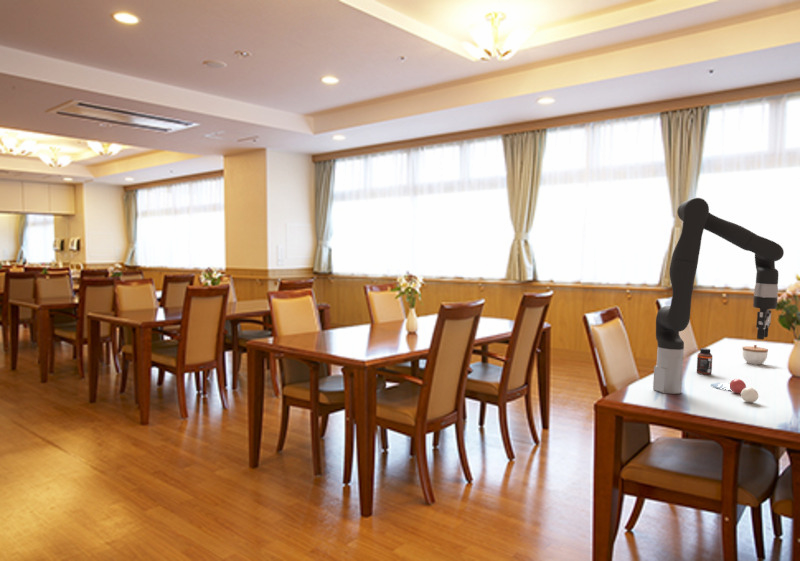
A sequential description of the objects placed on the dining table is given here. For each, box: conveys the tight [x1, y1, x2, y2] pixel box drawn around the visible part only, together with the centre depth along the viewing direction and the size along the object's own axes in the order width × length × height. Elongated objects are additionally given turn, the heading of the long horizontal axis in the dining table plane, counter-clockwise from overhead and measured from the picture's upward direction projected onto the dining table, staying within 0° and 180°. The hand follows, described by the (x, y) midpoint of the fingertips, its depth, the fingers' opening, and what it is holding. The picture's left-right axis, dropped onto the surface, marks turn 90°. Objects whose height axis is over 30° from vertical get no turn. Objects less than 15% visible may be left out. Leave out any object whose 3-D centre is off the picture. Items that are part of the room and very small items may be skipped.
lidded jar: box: [742, 344, 769, 365], centre depth 278 cm, size 11×11×9 cm
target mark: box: [710, 382, 747, 392], centre depth 226 cm, size 14×14×1 cm
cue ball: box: [740, 386, 759, 404], centre depth 204 cm, size 6×6×6 cm
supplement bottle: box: [696, 347, 713, 376], centre depth 251 cm, size 6×6×11 cm
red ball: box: [729, 378, 747, 394], centre depth 217 cm, size 6×6×6 cm
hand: (762, 338), depth 212 cm, fingers open, 8 cm apart
